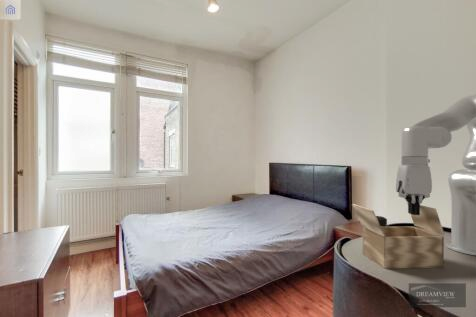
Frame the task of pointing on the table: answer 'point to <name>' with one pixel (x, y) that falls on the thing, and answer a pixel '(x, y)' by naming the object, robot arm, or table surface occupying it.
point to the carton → (404, 248)
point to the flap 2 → (428, 220)
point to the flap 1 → (368, 219)
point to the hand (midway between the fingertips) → (413, 214)
